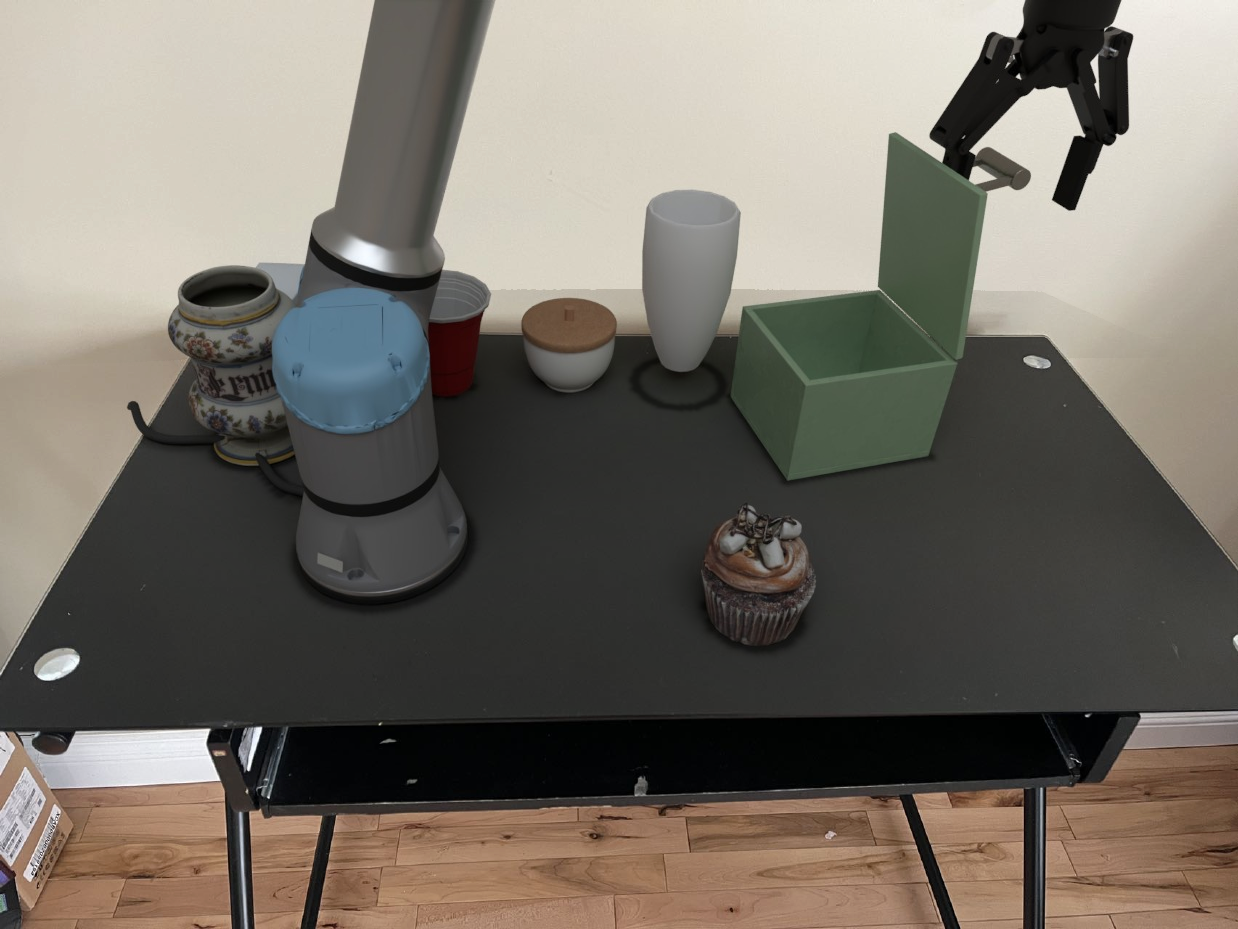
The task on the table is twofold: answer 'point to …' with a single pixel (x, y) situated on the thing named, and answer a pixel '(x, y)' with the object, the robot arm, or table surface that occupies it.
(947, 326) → the green box lid
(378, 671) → the table surface
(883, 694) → the table surface
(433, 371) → the plastic cup
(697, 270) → the cup
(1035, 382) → the table surface
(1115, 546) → the table surface
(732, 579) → the cupcake
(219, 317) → the apothecary jar
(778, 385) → the green open box
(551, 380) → the white bowl with lid
